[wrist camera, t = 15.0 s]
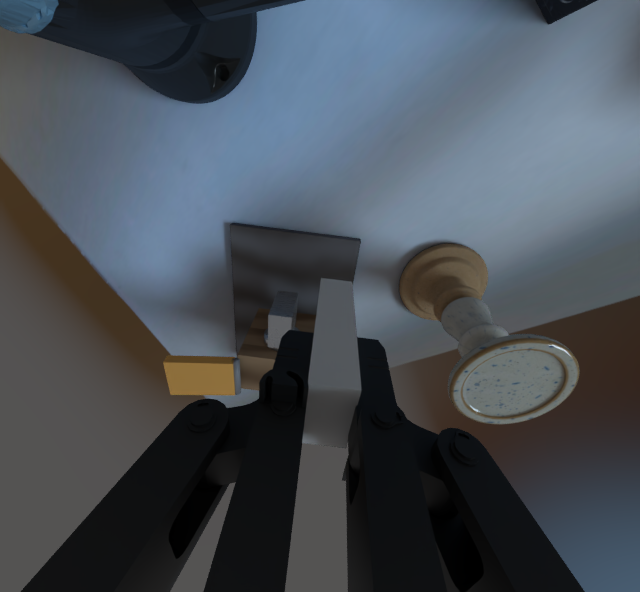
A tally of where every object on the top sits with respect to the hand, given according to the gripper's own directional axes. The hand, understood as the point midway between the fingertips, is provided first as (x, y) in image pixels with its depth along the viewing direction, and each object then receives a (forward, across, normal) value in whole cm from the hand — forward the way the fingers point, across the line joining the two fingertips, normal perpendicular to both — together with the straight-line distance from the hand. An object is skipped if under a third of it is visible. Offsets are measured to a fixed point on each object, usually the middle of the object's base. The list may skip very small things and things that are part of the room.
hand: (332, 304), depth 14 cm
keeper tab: (+14, -14, -21) cm, 29 cm away
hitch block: (+26, -5, -17) cm, 32 cm away
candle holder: (+27, +17, -10) cm, 33 cm away
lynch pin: (+21, -5, -21) cm, 30 cm away
